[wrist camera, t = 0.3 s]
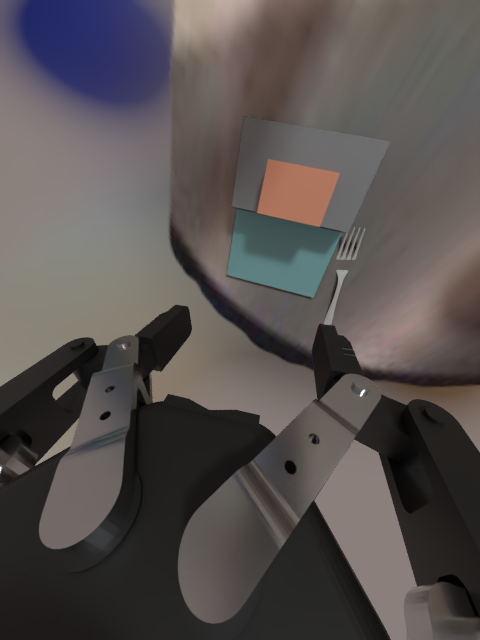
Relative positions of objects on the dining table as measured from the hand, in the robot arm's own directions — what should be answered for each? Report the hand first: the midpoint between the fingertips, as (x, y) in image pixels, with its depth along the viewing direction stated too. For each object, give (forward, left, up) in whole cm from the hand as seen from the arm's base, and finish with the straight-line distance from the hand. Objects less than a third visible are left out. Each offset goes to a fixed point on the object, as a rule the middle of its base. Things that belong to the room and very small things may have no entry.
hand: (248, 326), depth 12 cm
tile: (-8, 0, -22) cm, 24 cm away
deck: (-10, 0, -27) cm, 29 cm away
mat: (+1, 0, -27) cm, 27 cm away
